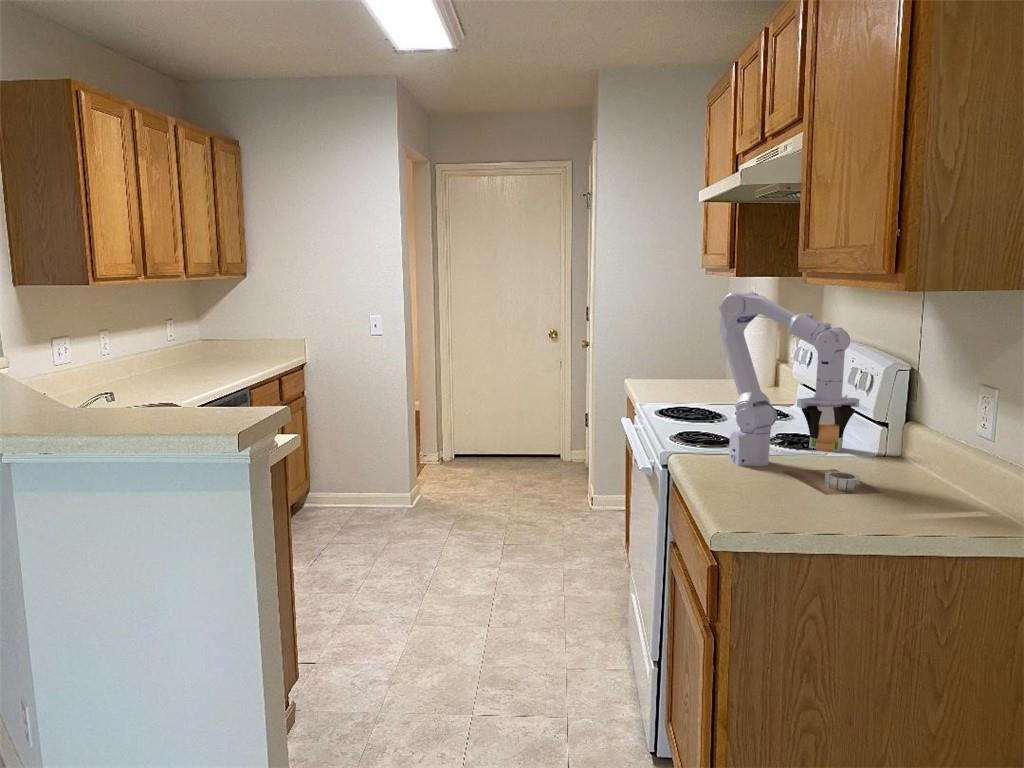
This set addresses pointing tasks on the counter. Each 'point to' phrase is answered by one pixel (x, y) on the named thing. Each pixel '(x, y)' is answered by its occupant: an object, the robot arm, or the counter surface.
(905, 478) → the counter surface
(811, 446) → the skincare box
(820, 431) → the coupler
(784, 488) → the counter surface
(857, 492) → the brown board
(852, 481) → the duct stub
